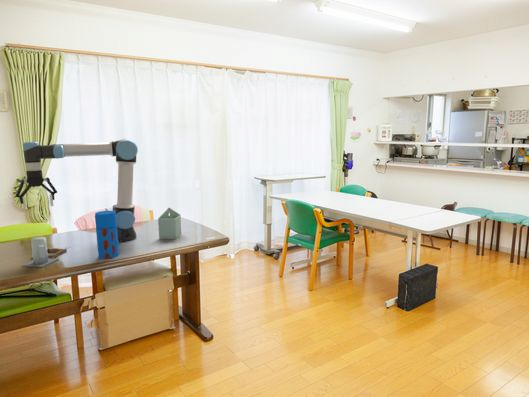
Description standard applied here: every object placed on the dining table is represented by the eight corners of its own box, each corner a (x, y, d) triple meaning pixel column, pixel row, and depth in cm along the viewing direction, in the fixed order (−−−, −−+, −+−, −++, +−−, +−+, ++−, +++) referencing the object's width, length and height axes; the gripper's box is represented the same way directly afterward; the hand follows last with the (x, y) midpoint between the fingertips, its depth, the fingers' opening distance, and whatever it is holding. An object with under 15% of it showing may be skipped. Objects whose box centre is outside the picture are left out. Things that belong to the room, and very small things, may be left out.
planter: (165, 241, 240) (163, 211, 236) (159, 238, 245) (157, 209, 242) (187, 236, 251) (185, 207, 247) (181, 234, 256) (179, 205, 253)
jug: (31, 261, 202) (29, 237, 199) (46, 258, 206) (44, 235, 204) (36, 267, 192) (33, 243, 189) (51, 264, 196) (49, 240, 194)
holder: (66, 252, 218) (66, 248, 218) (52, 258, 207) (51, 255, 206) (48, 251, 220) (48, 247, 220) (32, 257, 209) (32, 254, 209)
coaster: (58, 260, 205) (58, 258, 205) (42, 267, 193) (42, 266, 193) (39, 258, 207) (39, 257, 207) (22, 266, 195) (21, 265, 195)
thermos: (102, 253, 217) (98, 210, 212) (121, 252, 218) (118, 210, 213) (95, 259, 206) (91, 214, 202) (115, 258, 207) (112, 214, 203)
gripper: (8, 172, 197) (13, 211, 201) (60, 168, 213) (64, 205, 217) (5, 171, 202) (11, 209, 206) (56, 167, 219) (60, 203, 223)
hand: (38, 207), depth 212 cm, fingers open, 13 cm apart
